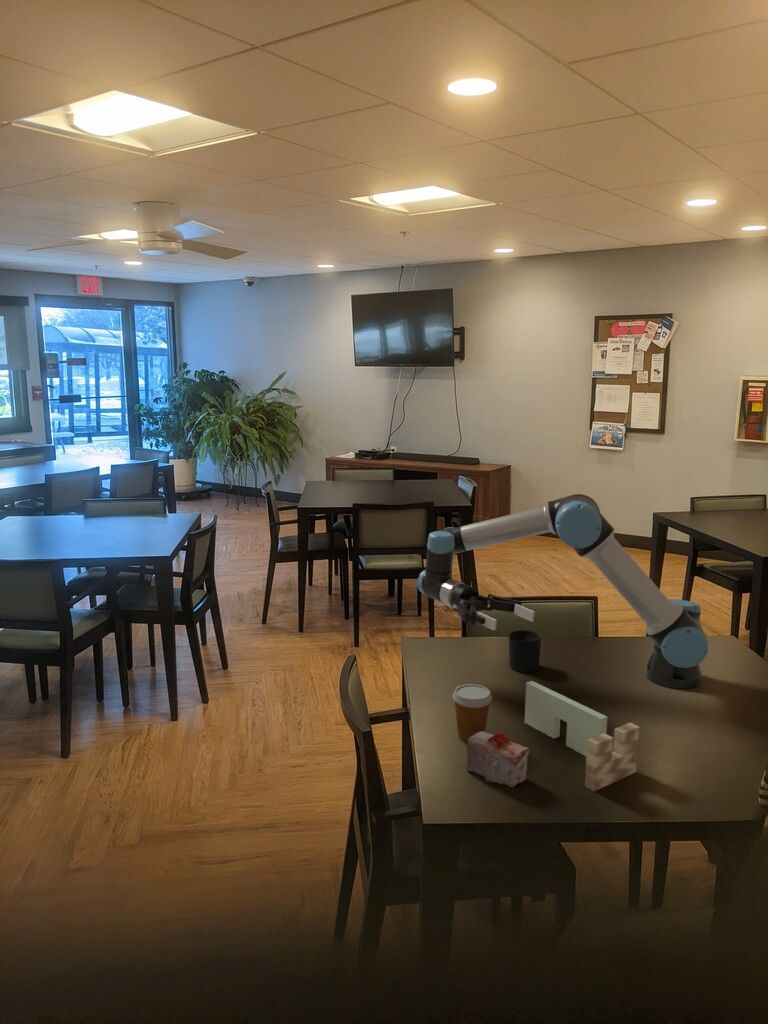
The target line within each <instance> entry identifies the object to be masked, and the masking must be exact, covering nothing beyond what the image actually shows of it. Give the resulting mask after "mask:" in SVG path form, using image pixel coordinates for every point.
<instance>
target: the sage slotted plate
mask: <svg viewBox="0 0 768 1024" xmlns="http://www.w3.org/2000/svg"><path fill="white" fill-rule="evenodd" d="M524 700H525V706H524V724H526V725H527V724H528V726H529V725H530V726H529V727H531V726H532V727H531V728H533V729H535V730H536V731H538V730H539V731H538V732H540V731H541V732H540V733H542V732H543V733H542V734H544V733H545V734H544V735H546V734H547V735H546V736H548V737H549V736H550V737H549V738H551V737H552V738H551V739H553V740H554V738H555V739H558V738H559V737H560V735H561V734H560V731H561V721H564V722H566V739H565V746H566V747H568V748H569V747H570V749H571V748H572V750H573V749H574V750H573V751H575V752H577V753H579V754H580V753H581V754H580V755H583V756H584V757H586V756H587V740H588V739H590V738H593V737H595V736H598V735H600V734H603V733H605V734H607V730H608V729H607V727H608V716H607V715H605V714H603V713H600V712H599V711H597V710H594V709H592V708H590V707H588V706H586V705H583V704H582V703H579V702H578V701H575V700H574V699H571V698H569V697H567V696H566V695H564V694H563V695H562V694H561V693H558V692H557V691H555V690H552V689H550V688H549V687H545V686H544V685H542V684H540V683H538V682H535V681H533V680H530V681H526V682H525V699H524Z"/></svg>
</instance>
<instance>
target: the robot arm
mask: <svg viewBox="0 0 768 1024" xmlns="http://www.w3.org/2000/svg"><path fill="white" fill-rule="evenodd" d="M547 533H552V534H554V535H557V536H558V537H559V539H560V540H561V541H562V542H563V544H565V545H567V546H569V547H571V548H572V549H573V550H574V552H575V553H576V554H577V555H578V557H580V558H588V559H589V560H590V562H592V563H593V564H594V565H595V567H596V568H597V569H598V570H599V571H600V572H601V574H602V575H603V576H604V577H605V578H606V579H607V581H608V582H609V583H610V584H611V585H612V586H613V588H615V590H616V591H617V592H618V593H619V594H620V596H622V598H623V599H624V600H625V601H626V602H627V603H628V604H629V606H631V607H630V608H632V609H633V610H634V611H635V612H636V613H637V615H638V616H639V617H640V618H641V620H642V621H643V622H644V623H645V625H646V629H645V630H646V634H647V635H648V636H649V637H650V638H651V640H652V641H653V650H652V653H651V655H650V658H649V660H648V662H647V664H646V666H645V677H646V678H647V679H648V680H650V681H651V682H653V683H655V685H660V686H662V687H667V688H673V689H692V688H696V687H698V686H700V685H701V683H702V677H703V676H702V675H703V674H702V671H701V668H700V664H701V663H702V662H703V661H704V660H705V659H706V657H707V656H708V652H709V640H708V636H707V635H706V634H705V631H704V630H703V627H702V625H701V620H700V619H701V614H702V611H701V610H702V609H701V605H700V604H699V603H697V602H694V601H690V600H685V599H683V600H682V599H674V598H673V599H672V598H671V599H669V598H667V596H666V595H665V594H664V593H663V592H662V591H661V589H660V588H659V587H658V586H657V585H656V584H655V583H654V582H653V580H652V579H651V578H650V577H649V575H648V574H647V573H646V572H645V571H644V570H643V569H642V568H641V566H639V564H638V563H637V562H636V561H635V559H634V558H632V556H631V555H630V554H629V553H628V552H627V550H626V549H624V547H623V546H622V545H621V544H620V542H619V541H617V539H616V537H615V528H614V527H613V526H612V525H611V524H610V522H609V521H608V520H607V519H606V518H605V517H604V515H602V513H601V511H600V507H599V505H598V503H597V502H596V501H595V499H593V498H592V497H590V496H588V495H587V494H581V493H576V494H571V495H567V496H564V497H561V498H557V499H554V500H550V501H549V500H548V501H547V502H546V503H545V505H543V506H540V507H536V508H532V509H528V510H524V511H520V512H516V513H511V514H506V515H503V516H499V517H495V518H491V519H486V520H482V521H479V522H475V523H474V522H473V523H470V524H466V525H462V526H459V527H458V526H457V527H450V526H449V527H445V528H444V529H442V530H435V531H432V532H430V533H429V534H428V537H427V542H426V543H427V544H426V560H425V561H426V563H425V564H426V565H425V569H424V570H423V571H421V572H420V573H419V575H418V578H416V579H417V580H416V586H417V589H418V591H419V592H421V593H422V594H423V595H425V596H426V597H428V598H429V599H433V600H435V601H438V602H440V603H442V604H443V605H445V606H448V607H450V609H452V610H453V611H454V612H456V613H457V615H459V617H460V618H461V620H462V622H464V623H469V621H470V623H469V624H470V625H473V626H474V625H475V624H479V625H482V626H483V627H484V628H487V629H489V630H491V631H496V630H497V623H498V622H497V621H498V620H497V619H496V618H493V617H491V616H488V615H487V614H485V613H482V611H488V612H491V611H494V610H495V611H500V612H501V611H502V612H508V613H513V615H515V616H518V617H520V618H522V619H524V620H527V621H529V622H534V621H535V620H534V619H535V613H536V612H535V610H532V609H530V608H527V607H525V606H522V605H523V602H522V601H521V600H518V599H512V598H507V597H503V596H502V597H501V596H498V595H497V596H496V595H494V594H491V593H489V594H487V596H484V595H481V594H480V593H479V592H478V590H477V589H476V588H475V587H474V586H471V585H469V584H467V583H464V582H462V581H459V580H457V579H455V578H453V577H452V575H453V573H452V572H453V563H454V557H455V555H456V554H460V553H463V552H468V551H471V550H476V549H481V548H486V547H490V546H494V545H498V544H502V543H507V542H512V541H515V540H516V541H517V540H521V539H526V538H529V537H532V536H533V537H534V536H537V535H538V536H539V535H543V534H547ZM488 606H489V607H488Z"/></svg>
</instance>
